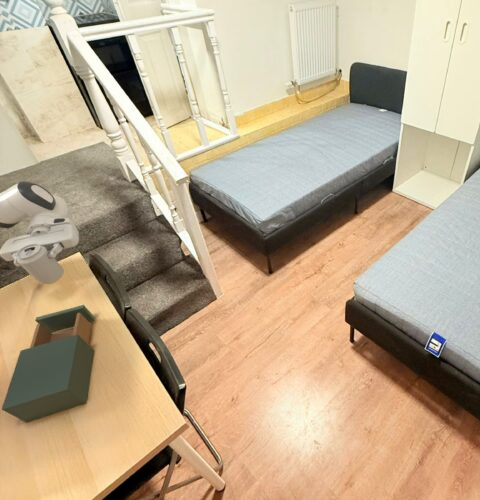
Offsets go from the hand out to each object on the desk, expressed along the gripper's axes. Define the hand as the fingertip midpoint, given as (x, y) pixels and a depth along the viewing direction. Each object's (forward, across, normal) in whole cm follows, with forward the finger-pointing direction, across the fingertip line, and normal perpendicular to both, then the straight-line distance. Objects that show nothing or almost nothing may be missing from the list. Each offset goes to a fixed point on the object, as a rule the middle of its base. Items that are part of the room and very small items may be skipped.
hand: (34, 260), depth 99 cm
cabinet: (+34, +5, +16) cm, 38 cm away
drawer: (+22, +5, +15) cm, 27 cm away
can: (-1, 0, +9) cm, 9 cm away
